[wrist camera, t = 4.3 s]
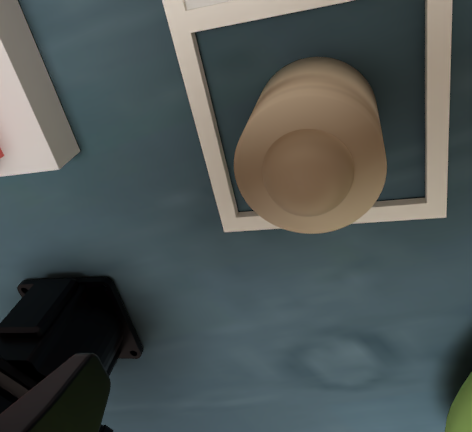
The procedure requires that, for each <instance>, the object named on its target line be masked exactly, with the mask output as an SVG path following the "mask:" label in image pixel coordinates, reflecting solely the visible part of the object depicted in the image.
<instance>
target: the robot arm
mask: <svg viewBox="0 0 472 432" xmlns="http://www.w3.org/2000/svg"><path fill="white" fill-rule="evenodd" d="M104 285H105V286H106V287H105V286H104ZM17 289H18V292H19V293H20V295H21V297H22V299H21V300H20V301H19V302H18V303H17V304H16V306H15V307H14V308H13V309H12V310H11V311H10V313H9V314H8V315H7V316H6V317H5V318H4V320H3V321H2V322H1V323H0V432H113V430H112V429H111V428H109V427H108V426H106V425H104V426H103V425H101V422H102V418H103V415H104V411H105V407H106V404H107V400H108V396H109V393H110V378H109V375H110V373H111V371H112V369H113V367H114V365H115V363H116V362H117V360H118V358H131V359H137V358H140V356H141V354H142V352H143V348H142V346H141V343H140V341H139V339H138V337H137V334H136V332H135V330H134V328H133V325H132V323H131V321H130V319H129V316H128V314H127V312H126V310H125V308H124V305H123V303H122V301H121V299H120V296H119V294H118V292H117V290H116V287H115V285H114V283H113V282H112V280H110V279H109V278H106V277H92V278H68V279H44V280H24V281H22V282H21V283H20V284H19V286H18V287H17Z"/></svg>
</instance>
